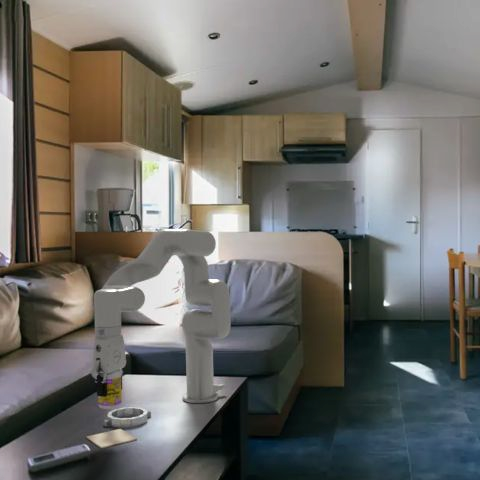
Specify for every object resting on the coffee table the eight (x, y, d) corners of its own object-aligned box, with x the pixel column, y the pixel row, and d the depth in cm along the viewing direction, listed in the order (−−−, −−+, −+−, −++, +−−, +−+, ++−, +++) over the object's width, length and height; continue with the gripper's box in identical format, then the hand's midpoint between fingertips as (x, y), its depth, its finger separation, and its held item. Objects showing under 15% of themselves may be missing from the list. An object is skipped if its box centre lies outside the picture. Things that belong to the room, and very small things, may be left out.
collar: (140, 411, 212) (140, 404, 212) (158, 420, 202) (158, 412, 202) (97, 421, 203) (96, 413, 203) (113, 431, 193) (113, 423, 193)
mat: (120, 429, 194) (120, 428, 194) (136, 439, 185) (136, 438, 185) (86, 437, 187) (86, 436, 187) (101, 448, 178) (101, 447, 178)
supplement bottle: (99, 410, 181) (98, 366, 181) (97, 404, 188) (95, 361, 187) (123, 408, 184) (122, 363, 183) (120, 401, 190) (118, 359, 189)
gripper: (100, 338, 175) (102, 402, 176) (135, 327, 191) (137, 386, 192) (78, 336, 179) (80, 399, 179) (115, 326, 194) (116, 384, 195)
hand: (109, 392), depth 186 cm, fingers closed on supplement bottle, 6 cm apart
